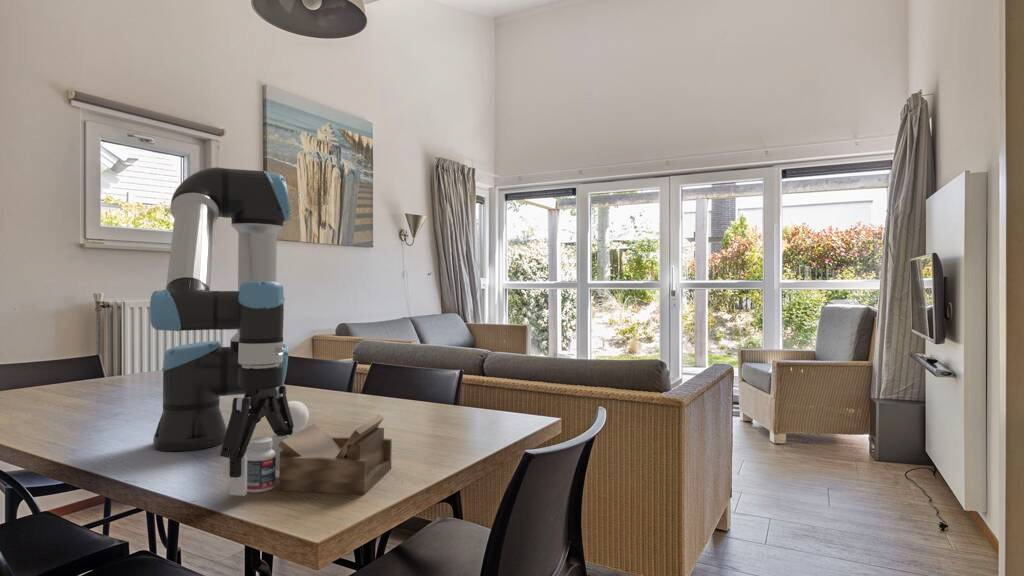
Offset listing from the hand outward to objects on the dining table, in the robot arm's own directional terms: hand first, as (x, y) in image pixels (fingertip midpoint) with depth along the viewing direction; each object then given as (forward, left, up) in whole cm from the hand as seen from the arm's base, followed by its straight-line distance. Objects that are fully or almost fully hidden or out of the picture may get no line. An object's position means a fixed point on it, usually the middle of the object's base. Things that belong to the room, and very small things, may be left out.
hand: (260, 481), depth 105 cm
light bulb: (-6, +24, -1) cm, 25 cm away
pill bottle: (0, 0, -2) cm, 2 cm away
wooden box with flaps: (+12, +7, -1) cm, 14 cm away
